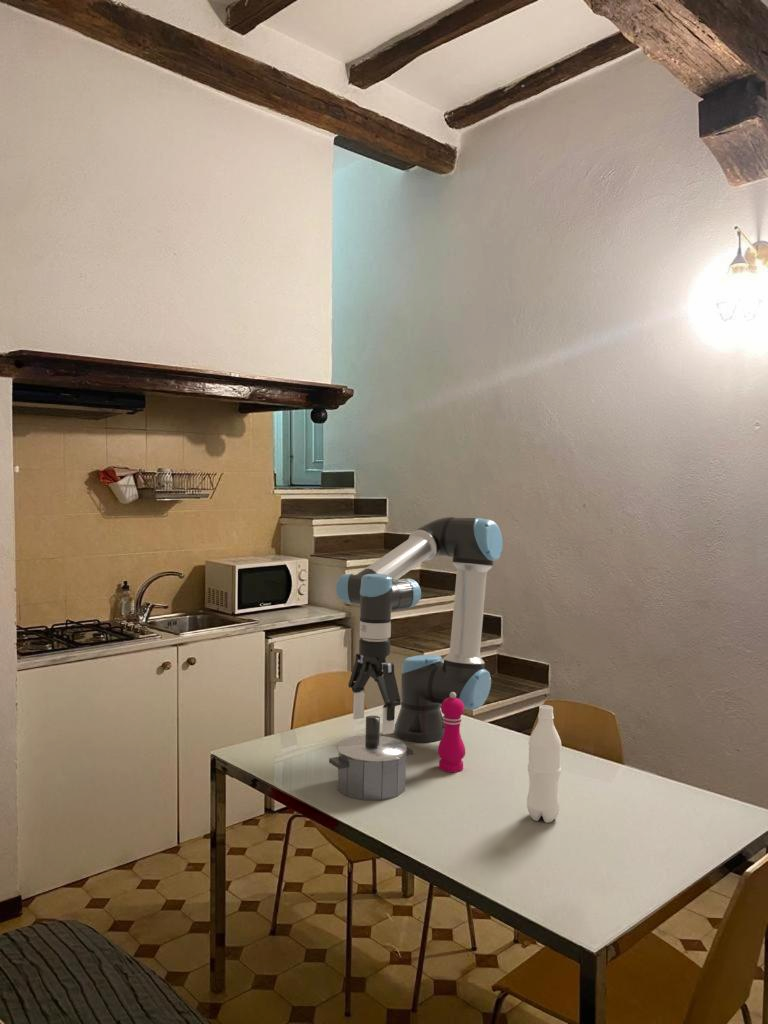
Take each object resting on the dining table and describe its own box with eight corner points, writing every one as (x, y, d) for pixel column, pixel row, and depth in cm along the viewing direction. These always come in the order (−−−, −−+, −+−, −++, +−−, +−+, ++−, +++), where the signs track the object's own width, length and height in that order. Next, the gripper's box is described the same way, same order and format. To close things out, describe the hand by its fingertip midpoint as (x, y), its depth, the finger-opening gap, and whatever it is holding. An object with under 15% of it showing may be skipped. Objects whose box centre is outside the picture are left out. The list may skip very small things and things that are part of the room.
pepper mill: (464, 764, 210) (466, 689, 209) (464, 773, 203) (467, 696, 202) (437, 762, 211) (439, 687, 210) (436, 772, 203) (438, 695, 203)
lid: (382, 741, 204) (383, 704, 203) (419, 761, 190) (420, 721, 189) (325, 751, 195) (326, 713, 194) (360, 773, 181) (361, 732, 180)
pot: (389, 768, 205) (390, 734, 205) (425, 790, 191) (426, 753, 191) (317, 783, 194) (318, 747, 193) (350, 807, 180) (351, 768, 180)
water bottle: (550, 827, 172) (554, 713, 171) (520, 818, 176) (524, 707, 175) (564, 817, 177) (568, 706, 177) (535, 808, 182) (538, 700, 181)
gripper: (336, 631, 200) (334, 714, 200) (389, 649, 179) (387, 742, 179) (361, 628, 204) (359, 710, 204) (417, 646, 183) (414, 737, 183)
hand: (372, 725), depth 192 cm, fingers open, 13 cm apart
